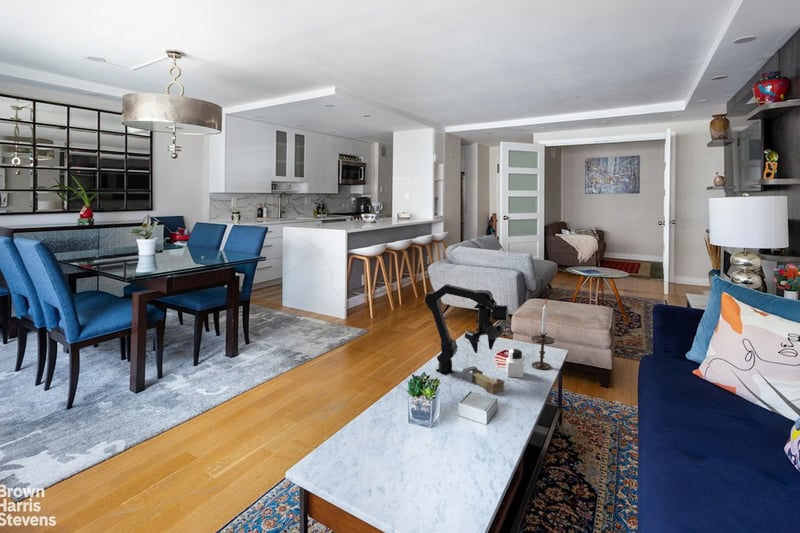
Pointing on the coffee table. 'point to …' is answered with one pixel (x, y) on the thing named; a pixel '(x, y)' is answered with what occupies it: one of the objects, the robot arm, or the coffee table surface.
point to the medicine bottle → (514, 364)
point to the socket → (495, 386)
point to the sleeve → (468, 375)
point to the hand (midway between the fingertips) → (483, 351)
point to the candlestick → (542, 343)
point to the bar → (482, 379)
